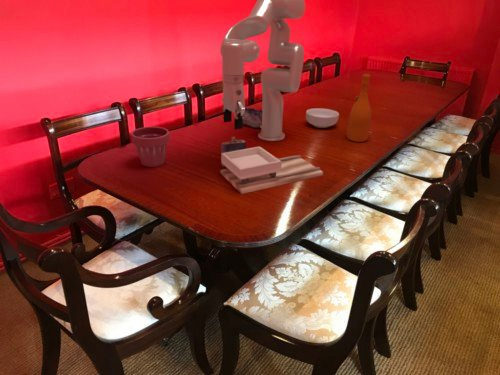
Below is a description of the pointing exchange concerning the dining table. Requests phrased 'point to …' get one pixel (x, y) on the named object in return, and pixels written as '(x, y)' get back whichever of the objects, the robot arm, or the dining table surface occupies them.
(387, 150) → the dining table surface
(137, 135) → the plant pot
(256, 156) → the pink rimmed tray
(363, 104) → the wine bottle
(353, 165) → the dining table surface
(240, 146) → the flask
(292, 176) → the rail board
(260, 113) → the geode
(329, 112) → the cereal bowl
